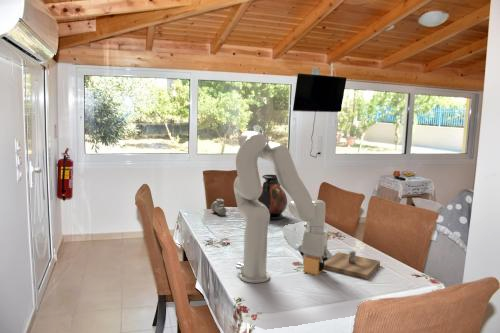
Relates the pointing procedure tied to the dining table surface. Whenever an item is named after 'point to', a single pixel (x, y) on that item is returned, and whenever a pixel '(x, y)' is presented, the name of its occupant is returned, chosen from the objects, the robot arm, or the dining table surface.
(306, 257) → the solid orange cube
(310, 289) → the dining table surface
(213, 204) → the grey lumpy piece
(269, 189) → the amphora vase
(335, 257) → the board
